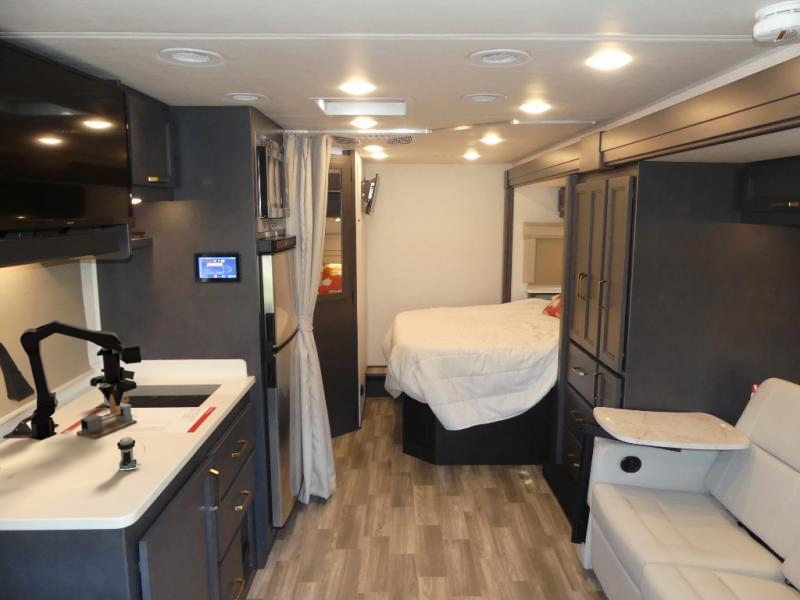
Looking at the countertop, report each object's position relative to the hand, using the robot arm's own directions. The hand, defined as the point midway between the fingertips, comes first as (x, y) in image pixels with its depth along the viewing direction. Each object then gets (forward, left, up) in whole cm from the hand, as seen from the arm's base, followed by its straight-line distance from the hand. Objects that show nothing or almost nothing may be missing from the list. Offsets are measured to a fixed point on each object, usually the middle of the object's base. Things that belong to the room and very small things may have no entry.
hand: (114, 405), depth 223 cm
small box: (+17, +21, -8) cm, 28 cm away
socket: (+4, 0, -7) cm, 8 cm away
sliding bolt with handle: (-3, 0, -5) cm, 5 cm away
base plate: (-4, 0, -8) cm, 9 cm away
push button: (-24, -36, -8) cm, 44 cm away
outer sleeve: (-10, 0, -7) cm, 12 cm away
